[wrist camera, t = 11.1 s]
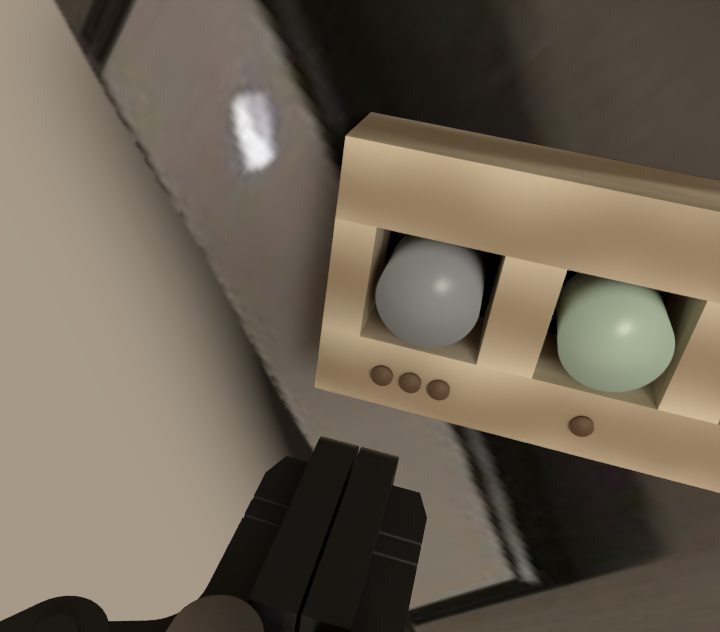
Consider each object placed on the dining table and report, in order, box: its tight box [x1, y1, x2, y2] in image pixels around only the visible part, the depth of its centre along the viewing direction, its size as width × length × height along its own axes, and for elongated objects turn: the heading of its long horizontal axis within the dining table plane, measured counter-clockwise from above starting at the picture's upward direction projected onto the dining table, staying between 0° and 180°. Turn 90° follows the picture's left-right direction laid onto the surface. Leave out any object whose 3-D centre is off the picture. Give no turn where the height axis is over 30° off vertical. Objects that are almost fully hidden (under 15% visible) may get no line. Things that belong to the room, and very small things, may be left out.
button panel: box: [315, 112, 720, 493], centre depth 26 cm, size 11×22×4 cm, turn 82°
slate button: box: [375, 234, 487, 348], centre depth 26 cm, size 4×4×3 cm
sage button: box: [556, 272, 675, 392], centre depth 25 cm, size 4×4×3 cm
